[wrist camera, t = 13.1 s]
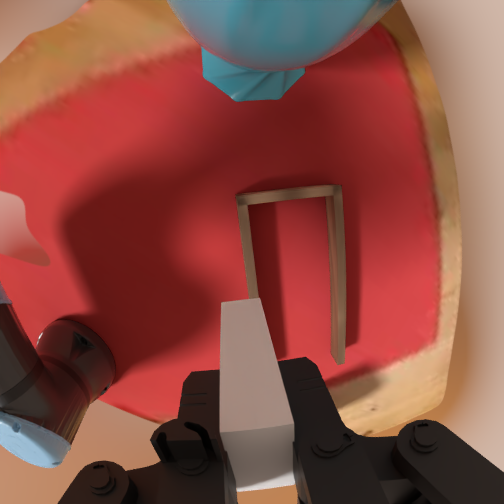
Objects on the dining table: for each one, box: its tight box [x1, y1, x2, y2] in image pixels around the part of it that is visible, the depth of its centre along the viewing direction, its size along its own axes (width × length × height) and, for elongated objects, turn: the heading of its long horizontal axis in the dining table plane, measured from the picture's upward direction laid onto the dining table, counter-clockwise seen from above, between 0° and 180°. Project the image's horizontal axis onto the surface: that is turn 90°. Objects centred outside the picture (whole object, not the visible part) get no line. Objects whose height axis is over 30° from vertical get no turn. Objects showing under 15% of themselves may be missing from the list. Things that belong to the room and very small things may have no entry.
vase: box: [167, 0, 398, 102], centre depth 20 cm, size 17×17×30 cm
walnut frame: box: [235, 184, 346, 365], centre depth 42 cm, size 13×27×4 cm, turn 7°
